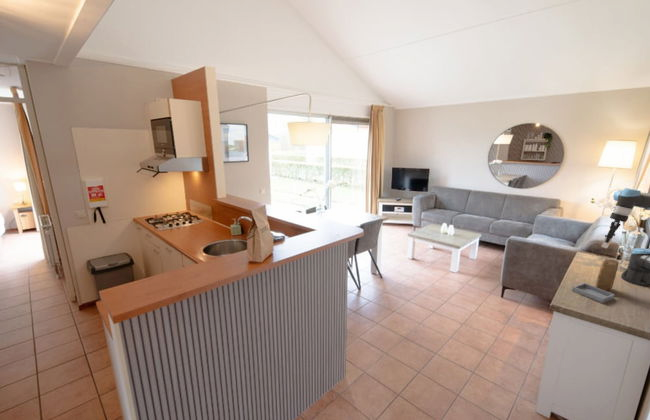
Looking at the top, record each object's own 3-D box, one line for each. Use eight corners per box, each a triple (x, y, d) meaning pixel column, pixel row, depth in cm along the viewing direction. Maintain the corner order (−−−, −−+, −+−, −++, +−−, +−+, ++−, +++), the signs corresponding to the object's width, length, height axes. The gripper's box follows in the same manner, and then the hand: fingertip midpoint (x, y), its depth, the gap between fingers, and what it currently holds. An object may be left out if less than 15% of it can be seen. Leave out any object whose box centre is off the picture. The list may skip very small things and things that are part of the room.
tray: (583, 286, 192) (584, 282, 192) (613, 298, 179) (614, 294, 178) (571, 290, 188) (572, 286, 187) (602, 303, 174) (603, 299, 173)
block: (609, 294, 184) (617, 265, 179) (593, 289, 189) (601, 260, 184) (612, 288, 190) (621, 260, 185) (597, 284, 196) (605, 256, 191)
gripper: (613, 210, 188) (599, 241, 194) (610, 213, 171) (595, 246, 177) (629, 214, 183) (614, 245, 189) (628, 217, 166) (611, 251, 172)
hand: (605, 246), depth 183 cm, fingers open, 13 cm apart
